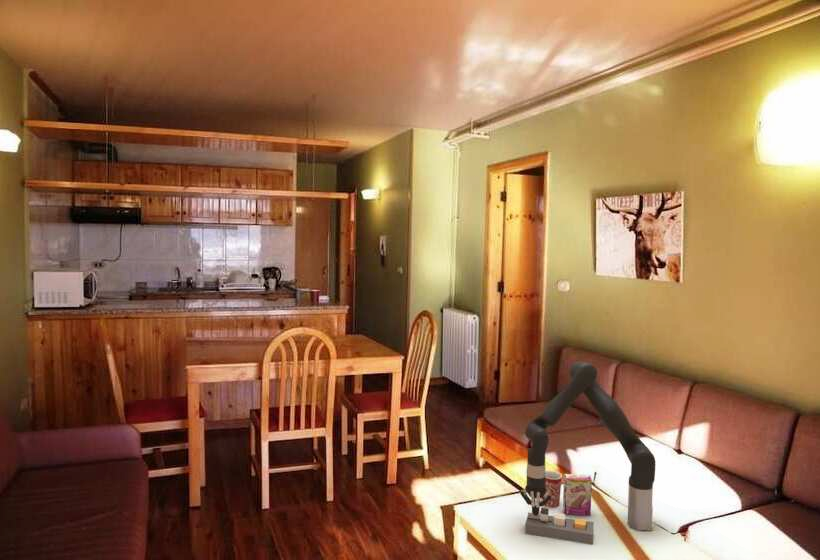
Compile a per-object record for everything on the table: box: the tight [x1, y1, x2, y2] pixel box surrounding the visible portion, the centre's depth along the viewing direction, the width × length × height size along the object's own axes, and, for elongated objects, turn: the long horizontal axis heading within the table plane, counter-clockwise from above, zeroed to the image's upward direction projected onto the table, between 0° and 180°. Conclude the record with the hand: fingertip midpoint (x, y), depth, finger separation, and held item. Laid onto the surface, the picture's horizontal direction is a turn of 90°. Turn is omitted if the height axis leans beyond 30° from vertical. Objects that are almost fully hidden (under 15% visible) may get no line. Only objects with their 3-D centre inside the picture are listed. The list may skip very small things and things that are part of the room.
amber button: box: [574, 518, 587, 530], centre depth 229 cm, size 4×4×3 cm
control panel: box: [524, 512, 594, 545], centre depth 232 cm, size 26×10×4 cm, turn 71°
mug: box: [541, 470, 563, 508], centre depth 256 cm, size 13×9×14 cm
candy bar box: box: [562, 473, 593, 517], centre depth 247 cm, size 11×5×16 cm, turn 84°
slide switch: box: [539, 507, 550, 522], centre depth 233 cm, size 3×4×6 cm
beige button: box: [553, 512, 566, 527], centre depth 231 cm, size 4×4×3 cm
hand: (535, 514), depth 234 cm, fingers closed
